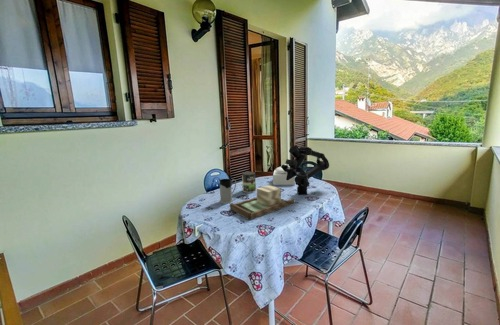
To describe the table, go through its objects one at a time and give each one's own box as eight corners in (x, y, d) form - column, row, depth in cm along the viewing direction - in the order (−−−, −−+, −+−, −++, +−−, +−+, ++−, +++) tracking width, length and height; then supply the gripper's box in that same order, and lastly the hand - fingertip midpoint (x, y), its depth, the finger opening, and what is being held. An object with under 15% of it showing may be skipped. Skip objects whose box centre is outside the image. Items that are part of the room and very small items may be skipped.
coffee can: (258, 191, 189) (257, 173, 186) (246, 193, 185) (245, 175, 182) (252, 187, 198) (251, 170, 195) (240, 190, 194) (239, 172, 191)
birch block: (269, 197, 168) (269, 184, 166) (281, 201, 159) (280, 188, 158) (257, 201, 162) (256, 188, 160) (268, 206, 153) (267, 192, 151)
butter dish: (273, 185, 203) (272, 166, 200) (274, 179, 221) (274, 161, 217) (294, 185, 200) (294, 166, 197) (294, 179, 218) (294, 161, 214)
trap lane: (273, 196, 176) (273, 190, 176) (294, 203, 161) (294, 197, 160) (230, 209, 155) (230, 203, 155) (249, 219, 140) (248, 213, 139)
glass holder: (217, 201, 171) (216, 180, 168) (232, 196, 181) (231, 176, 178) (225, 204, 165) (224, 182, 162) (240, 198, 175) (239, 178, 172)
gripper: (282, 153, 175) (271, 171, 171) (302, 156, 160) (290, 175, 156) (290, 162, 181) (279, 179, 177) (310, 166, 166) (299, 185, 162)
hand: (286, 180), depth 168 cm, fingers closed
